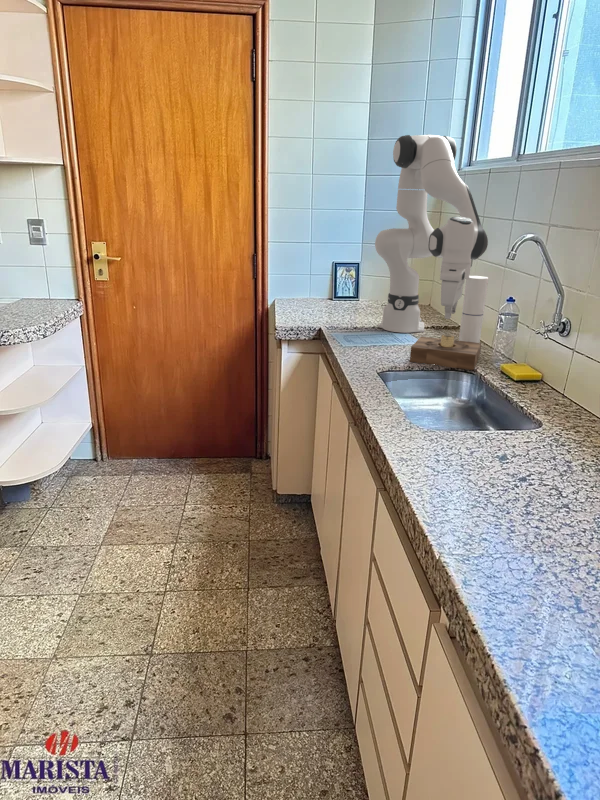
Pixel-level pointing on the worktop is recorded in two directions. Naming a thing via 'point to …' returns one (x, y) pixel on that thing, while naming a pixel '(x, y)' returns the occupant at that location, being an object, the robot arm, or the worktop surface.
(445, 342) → the bushing
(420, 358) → the block
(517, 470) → the worktop surface
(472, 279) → the cylindrical container
